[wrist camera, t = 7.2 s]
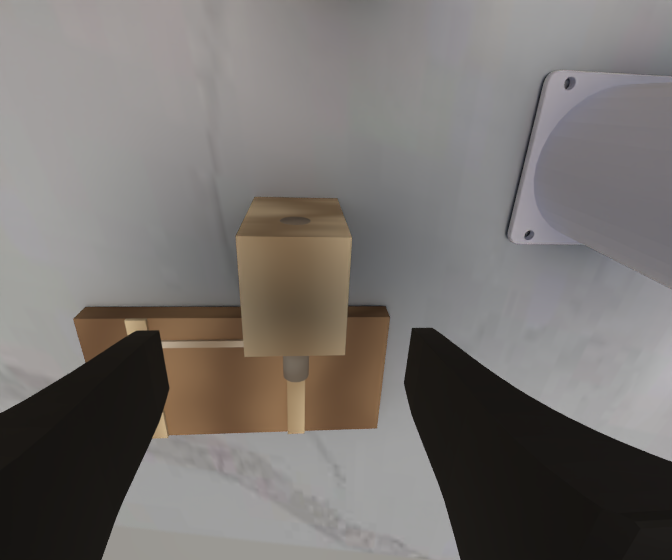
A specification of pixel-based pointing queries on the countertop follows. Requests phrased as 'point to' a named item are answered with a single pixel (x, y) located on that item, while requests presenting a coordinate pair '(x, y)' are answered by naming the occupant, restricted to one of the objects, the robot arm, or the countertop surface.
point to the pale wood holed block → (294, 280)
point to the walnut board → (248, 371)
